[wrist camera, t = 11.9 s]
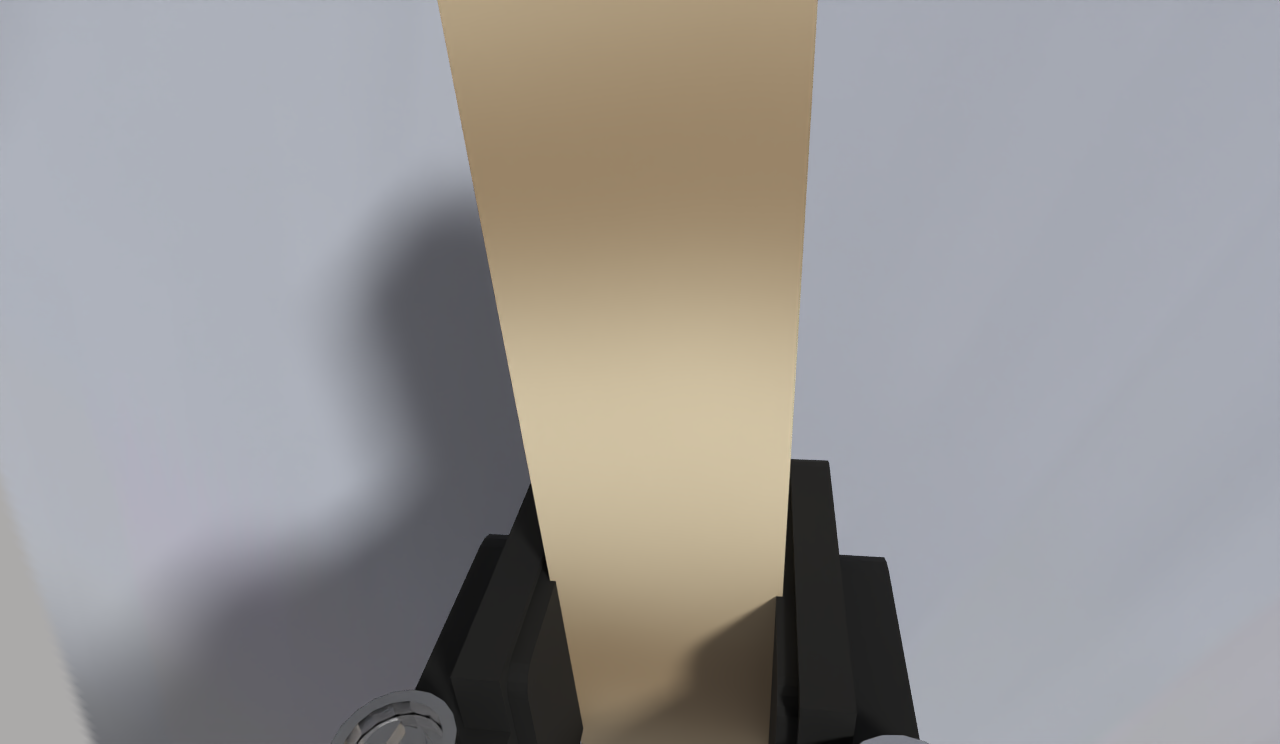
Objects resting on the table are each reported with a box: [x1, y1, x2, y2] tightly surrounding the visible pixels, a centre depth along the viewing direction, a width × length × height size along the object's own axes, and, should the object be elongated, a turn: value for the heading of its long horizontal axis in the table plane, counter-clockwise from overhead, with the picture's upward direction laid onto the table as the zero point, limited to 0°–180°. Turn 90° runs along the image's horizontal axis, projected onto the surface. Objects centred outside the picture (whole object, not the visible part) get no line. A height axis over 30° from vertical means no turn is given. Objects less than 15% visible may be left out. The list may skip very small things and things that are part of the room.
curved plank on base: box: [438, 0, 818, 744], centre depth 11 cm, size 20×7×5 cm, turn 3°
